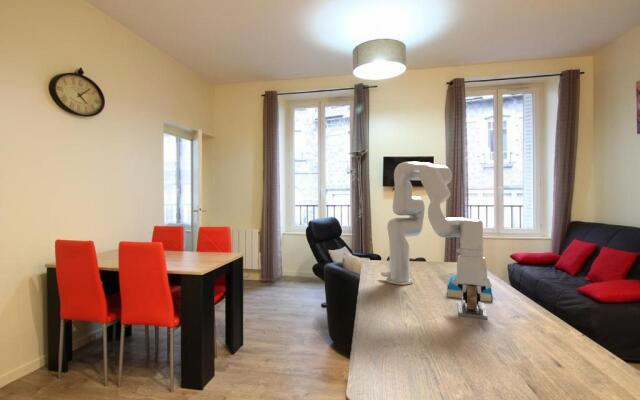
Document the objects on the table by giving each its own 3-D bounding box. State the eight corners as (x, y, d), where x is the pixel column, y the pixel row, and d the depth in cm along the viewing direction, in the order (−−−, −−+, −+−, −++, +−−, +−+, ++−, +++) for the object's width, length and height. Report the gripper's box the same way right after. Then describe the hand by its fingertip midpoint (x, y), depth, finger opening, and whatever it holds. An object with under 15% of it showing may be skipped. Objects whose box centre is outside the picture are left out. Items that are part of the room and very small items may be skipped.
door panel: (467, 308, 114) (467, 286, 114) (466, 301, 121) (466, 280, 121) (476, 309, 113) (476, 287, 113) (475, 302, 120) (475, 281, 120)
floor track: (487, 319, 108) (487, 312, 108) (458, 315, 112) (458, 308, 112) (483, 305, 122) (483, 299, 122) (458, 302, 126) (458, 296, 126)
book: (447, 288, 134) (450, 274, 156) (447, 298, 134) (450, 283, 156) (493, 293, 126) (490, 277, 149) (493, 303, 126) (490, 287, 149)
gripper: (447, 253, 117) (447, 303, 117) (498, 256, 110) (498, 309, 110) (447, 250, 123) (447, 297, 124) (495, 252, 117) (495, 302, 117)
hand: (471, 302), depth 117 cm, fingers closed on door panel, 3 cm apart
